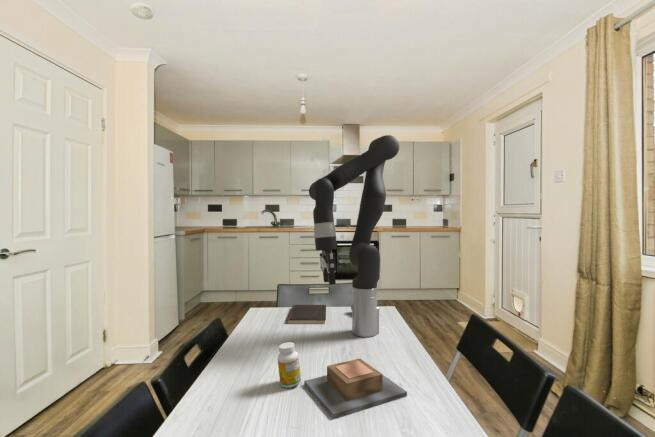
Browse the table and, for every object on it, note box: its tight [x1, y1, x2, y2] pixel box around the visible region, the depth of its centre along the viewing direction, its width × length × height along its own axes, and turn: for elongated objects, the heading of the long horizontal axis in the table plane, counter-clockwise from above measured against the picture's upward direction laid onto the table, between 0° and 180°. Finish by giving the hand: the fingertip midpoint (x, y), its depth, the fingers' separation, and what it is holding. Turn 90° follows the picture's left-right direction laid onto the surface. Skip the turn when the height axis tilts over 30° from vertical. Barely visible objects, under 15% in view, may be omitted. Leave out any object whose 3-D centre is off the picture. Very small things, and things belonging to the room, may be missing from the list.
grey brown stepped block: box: [303, 358, 408, 420], centre depth 81 cm, size 20×16×5 cm
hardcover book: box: [286, 304, 327, 325], centre depth 144 cm, size 16×23×2 cm
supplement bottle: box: [277, 341, 302, 388], centre depth 84 cm, size 5×5×10 cm
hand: (329, 283), depth 112 cm, fingers open, 8 cm apart
